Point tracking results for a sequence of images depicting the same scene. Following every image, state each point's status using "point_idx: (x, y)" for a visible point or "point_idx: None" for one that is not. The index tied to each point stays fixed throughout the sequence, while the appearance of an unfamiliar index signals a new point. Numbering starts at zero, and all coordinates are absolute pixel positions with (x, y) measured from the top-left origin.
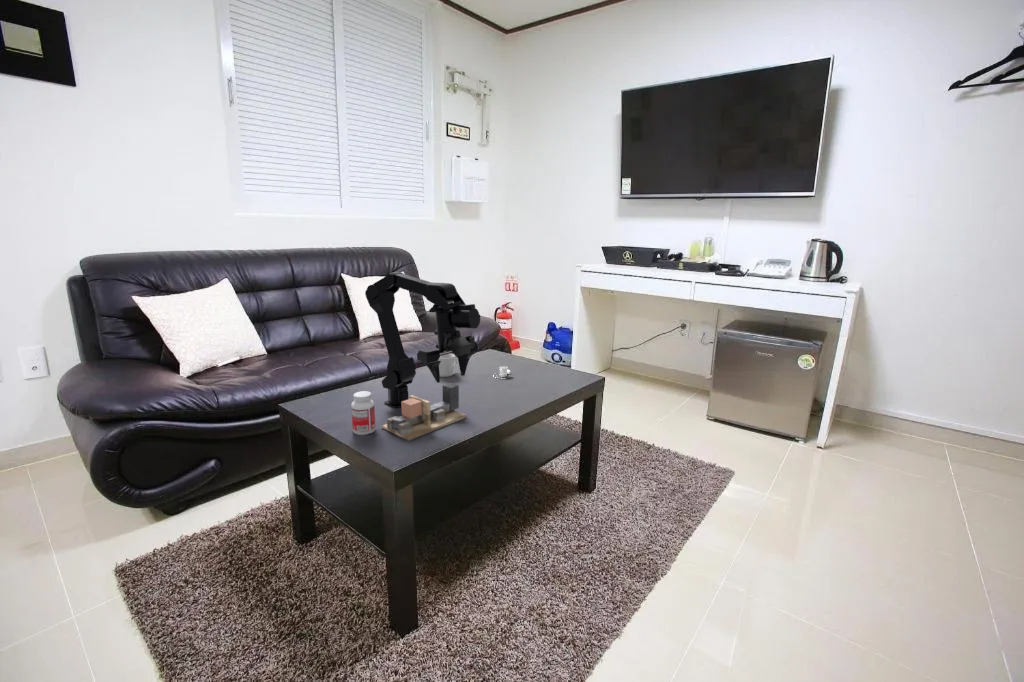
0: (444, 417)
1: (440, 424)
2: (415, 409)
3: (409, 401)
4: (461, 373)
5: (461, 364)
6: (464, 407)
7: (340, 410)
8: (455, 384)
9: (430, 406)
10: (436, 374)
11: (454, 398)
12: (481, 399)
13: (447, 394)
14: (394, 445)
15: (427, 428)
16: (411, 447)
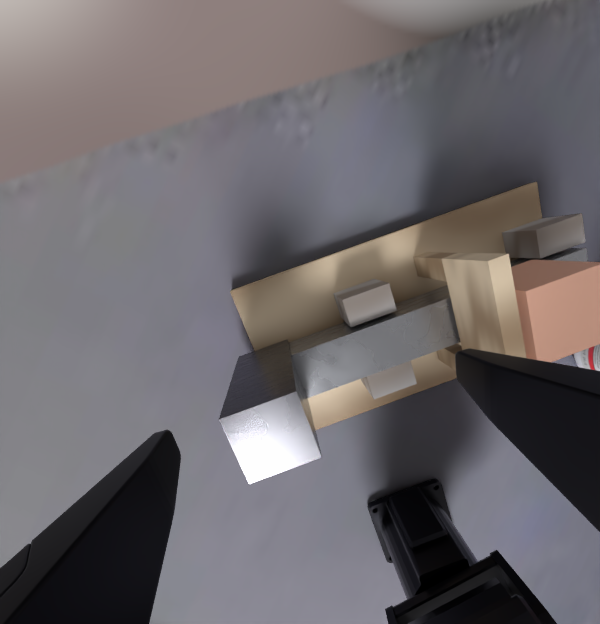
0: (336, 293)
1: (375, 244)
2: (536, 272)
3: (579, 320)
4: (175, 468)
5: (123, 587)
6: (194, 390)
7: (585, 524)
8: (233, 443)
9: (391, 357)
10: (585, 373)
11: (261, 369)
12: (84, 443)
13: (301, 390)
14: (583, 172)
15: (437, 232)
16: (545, 120)
